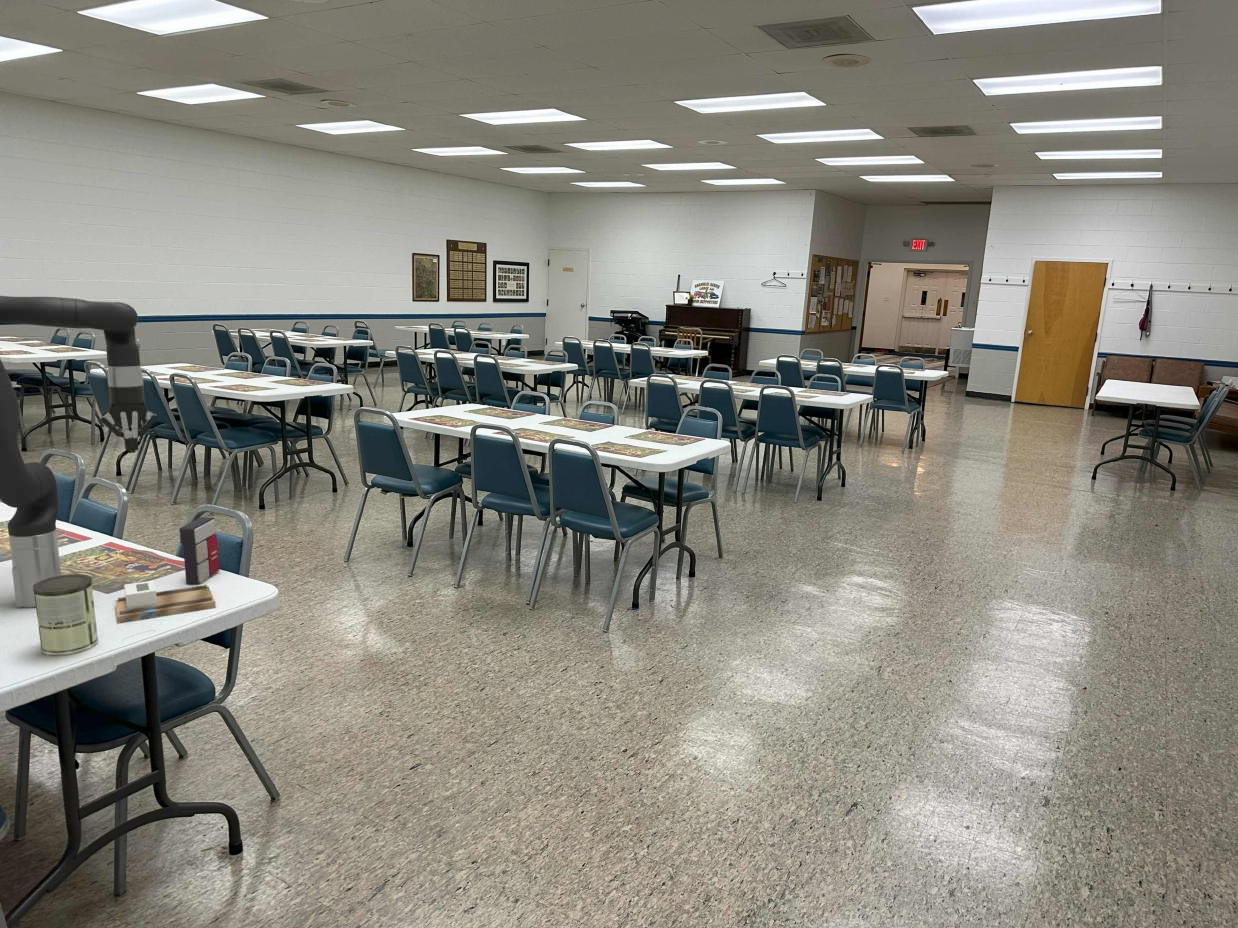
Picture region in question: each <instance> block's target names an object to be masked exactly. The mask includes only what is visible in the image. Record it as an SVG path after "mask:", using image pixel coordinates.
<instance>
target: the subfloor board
mask: <svg viewBox="0 0 1238 928" xmlns="http://www.w3.org/2000/svg"><path fill="white" fill-rule="evenodd" d="M156 596H157V605H153V606H147V607H140V608H134V609H127V604H126V596H122V597H117V599H115V602H114V603H115V611H116V619H117V624H120V623H121V624H122V623H127V622H134V621H140V620H147V619H151V618H159V617H165V616H171V615H177V614H183V613H189V612H191V613H192V612H197V611H202V610H208V609H213V608H217V607H216V600H215V598H214V595H213V594H212V591H211V589H210V586H208V585H207V584H202V585H196V586H190V587H184V588H175V589H168V590H161V591H156Z"/></svg>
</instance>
